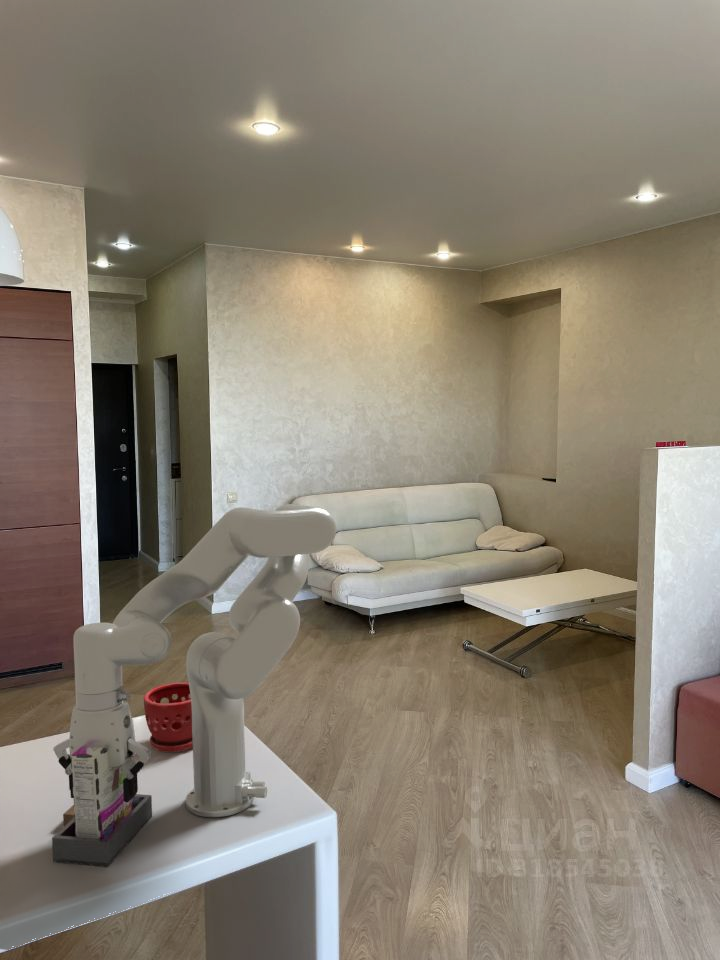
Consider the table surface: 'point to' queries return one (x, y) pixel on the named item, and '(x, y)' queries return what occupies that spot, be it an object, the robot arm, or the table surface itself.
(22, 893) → the table surface
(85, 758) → the candy bar box
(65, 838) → the keeper
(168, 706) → the plant pot
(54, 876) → the table surface
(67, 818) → the door edge rail
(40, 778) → the table surface
